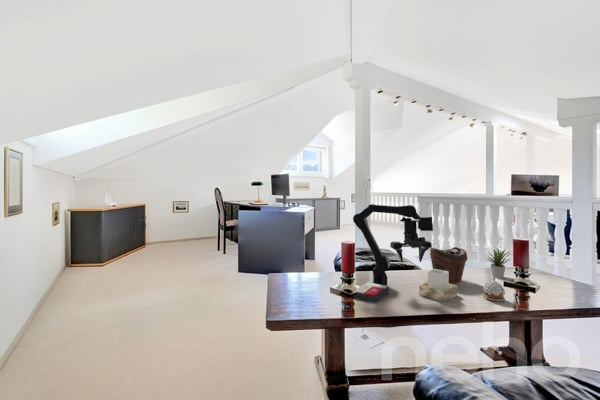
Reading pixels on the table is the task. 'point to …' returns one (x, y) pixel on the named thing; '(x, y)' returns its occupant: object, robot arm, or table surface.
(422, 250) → the robot arm
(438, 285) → the white upright block
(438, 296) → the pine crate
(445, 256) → the brown flower pot
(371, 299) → the red and white box
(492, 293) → the decorative ornament
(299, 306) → the table surface
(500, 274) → the house plant
